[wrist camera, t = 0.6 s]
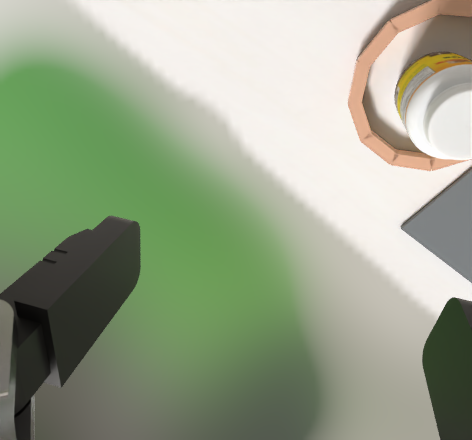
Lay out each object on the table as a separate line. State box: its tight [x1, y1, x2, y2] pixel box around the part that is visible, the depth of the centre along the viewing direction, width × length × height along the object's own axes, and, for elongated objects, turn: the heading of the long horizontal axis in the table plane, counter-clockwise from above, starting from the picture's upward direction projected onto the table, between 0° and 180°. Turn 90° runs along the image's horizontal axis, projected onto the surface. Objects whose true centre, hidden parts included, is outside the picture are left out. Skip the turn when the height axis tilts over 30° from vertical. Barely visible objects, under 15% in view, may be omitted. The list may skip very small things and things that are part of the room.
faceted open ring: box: [348, 0, 472, 171], centre depth 28 cm, size 12×12×1 cm
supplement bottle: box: [395, 52, 472, 160], centre depth 25 cm, size 6×6×10 cm
